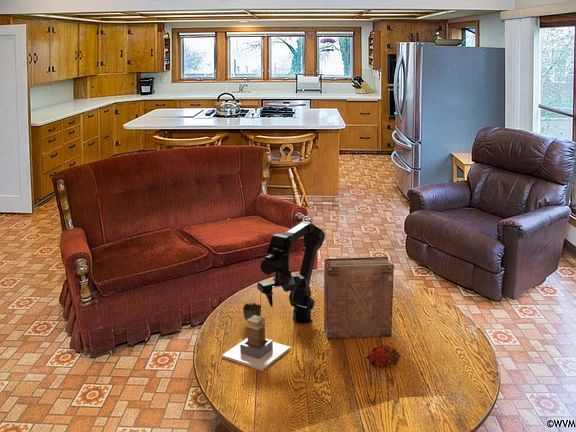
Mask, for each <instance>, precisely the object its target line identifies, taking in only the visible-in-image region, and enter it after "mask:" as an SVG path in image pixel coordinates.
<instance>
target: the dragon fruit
mask: <svg viewBox="0 0 576 432" xmlns="http://www.w3.org/2000/svg"><path fill="white" fill-rule="evenodd" d="M400 358H401V355H400V353H399V352H398V351H397V350H396V349H395V348H394V347H391V346H390V345H388V344H387V345H378V346H377V347H376V346H375V347H373V348H372V350H371V352H370V353H369V354H368V355H367V356H366V357H365V359H366V360H369V364H370V365H371V366H374V367H377V368H378V367H381V370H385V369H387V368H388V369H389V368H392V366H397V364H398V362H399V360H400Z"/></svg>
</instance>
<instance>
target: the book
mask: <svg viewBox="0 0 576 432" xmlns="http://www.w3.org/2000/svg"><path fill="white" fill-rule="evenodd" d="M323 263H324V269H323V270H324V272H323V273H324V276H323V277H324V278H323V282H324V283H323V285H324V287H323V289H324V290H323V294H324V295H323V299H324V300H323V310H324V311H323V312H324V314H323V316H324V317H323V329H324V332H325V335H326V338H327V340H344V339H365V338H367V339H368V338H372V339H373V338H389V337H392V335H393V334H392V333H393V332H392V328H393V304H394V303H393V299H394V276H395V275H394V271H395V270H394V267H395V265H394V264H391V263H390V262H389V257H388V256H387V255H386V256H373V257H372V256H369V257H368V256H367V257H345V258H344V257H342V258H338V257H337V258H325V259H324V261H323Z"/></svg>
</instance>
